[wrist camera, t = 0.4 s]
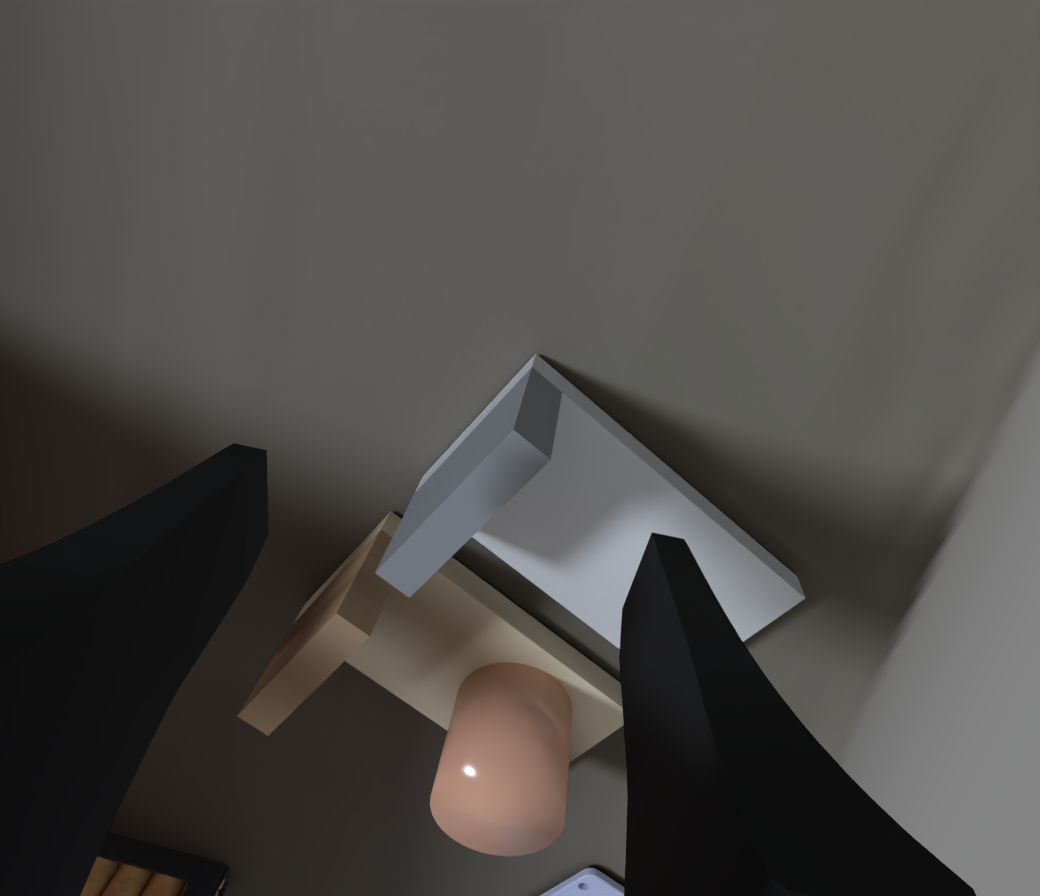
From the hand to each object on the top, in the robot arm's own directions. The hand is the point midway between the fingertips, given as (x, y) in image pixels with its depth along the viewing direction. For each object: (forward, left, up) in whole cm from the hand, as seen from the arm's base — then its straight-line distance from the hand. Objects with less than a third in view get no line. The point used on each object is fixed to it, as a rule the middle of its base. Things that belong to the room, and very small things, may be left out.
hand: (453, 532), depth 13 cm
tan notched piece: (-11, -6, -10) cm, 16 cm away
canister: (-11, -9, -9) cm, 16 cm away
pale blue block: (-3, -6, -10) cm, 12 cm away
